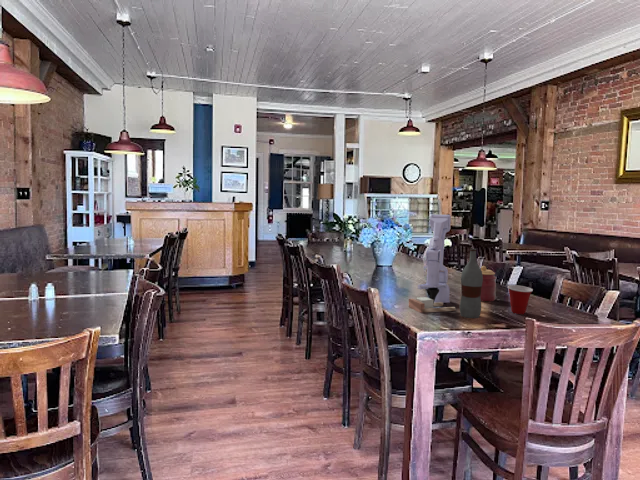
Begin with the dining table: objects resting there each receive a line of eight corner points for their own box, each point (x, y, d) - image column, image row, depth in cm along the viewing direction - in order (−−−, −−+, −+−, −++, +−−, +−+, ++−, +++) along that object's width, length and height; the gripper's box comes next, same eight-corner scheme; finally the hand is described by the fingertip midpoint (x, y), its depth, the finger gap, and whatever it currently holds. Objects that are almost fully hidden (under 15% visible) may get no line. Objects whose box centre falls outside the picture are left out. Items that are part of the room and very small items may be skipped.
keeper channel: (441, 305, 230) (442, 297, 229) (454, 310, 219) (455, 302, 219) (408, 307, 225) (408, 298, 224) (420, 312, 214) (420, 303, 213)
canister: (479, 302, 238) (481, 267, 236) (464, 297, 250) (465, 264, 249) (500, 301, 242) (502, 267, 241) (484, 296, 254) (486, 263, 253)
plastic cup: (520, 316, 210) (521, 290, 209) (500, 311, 219) (502, 286, 218) (536, 314, 215) (538, 288, 214) (517, 309, 224) (518, 284, 223)
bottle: (485, 316, 209) (488, 249, 206) (474, 319, 203) (477, 250, 200) (466, 312, 216) (469, 247, 213) (455, 315, 210) (458, 248, 207)
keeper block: (426, 307, 224) (426, 297, 224) (433, 310, 219) (433, 299, 218) (415, 308, 222) (415, 297, 222) (421, 311, 217) (422, 300, 216)
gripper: (423, 277, 214) (422, 306, 216) (451, 276, 219) (450, 304, 220) (415, 274, 221) (414, 303, 222) (443, 273, 225) (441, 301, 227)
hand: (431, 303), depth 221 cm, fingers closed
